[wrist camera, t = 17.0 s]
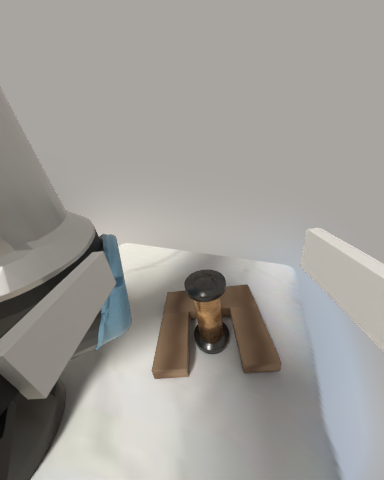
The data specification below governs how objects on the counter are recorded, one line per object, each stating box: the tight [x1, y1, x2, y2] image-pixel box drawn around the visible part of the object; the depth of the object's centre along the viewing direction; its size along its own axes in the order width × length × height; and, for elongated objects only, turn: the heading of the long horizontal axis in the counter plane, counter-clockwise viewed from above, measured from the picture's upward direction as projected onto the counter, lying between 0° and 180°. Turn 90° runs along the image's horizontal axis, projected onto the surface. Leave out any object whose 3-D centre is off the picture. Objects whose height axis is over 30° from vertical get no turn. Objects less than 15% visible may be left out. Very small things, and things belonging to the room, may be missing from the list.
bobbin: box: [185, 270, 229, 354], centre depth 27 cm, size 6×6×12 cm
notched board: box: [152, 285, 281, 379], centre depth 31 cm, size 18×16×2 cm
